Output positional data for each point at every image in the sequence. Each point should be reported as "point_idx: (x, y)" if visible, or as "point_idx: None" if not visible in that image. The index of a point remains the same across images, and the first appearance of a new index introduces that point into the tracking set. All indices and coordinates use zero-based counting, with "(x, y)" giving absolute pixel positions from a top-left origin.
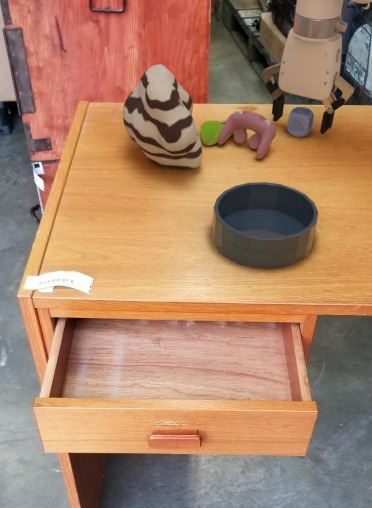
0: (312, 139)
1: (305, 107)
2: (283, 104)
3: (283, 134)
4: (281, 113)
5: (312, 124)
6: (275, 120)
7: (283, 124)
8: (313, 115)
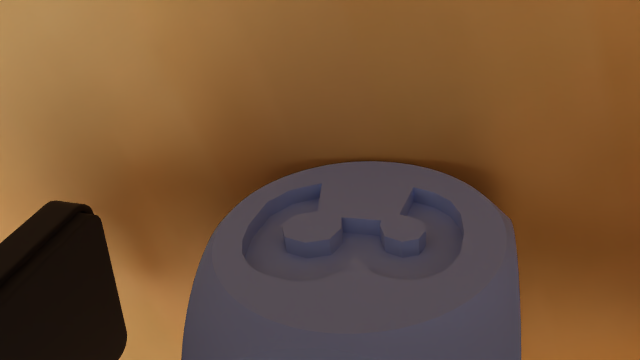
0: (564, 335)
1: (333, 354)
2: (1, 327)
3: None
4: (79, 276)
5: (510, 222)
6: (113, 351)
7: (165, 156)
8: (518, 349)
